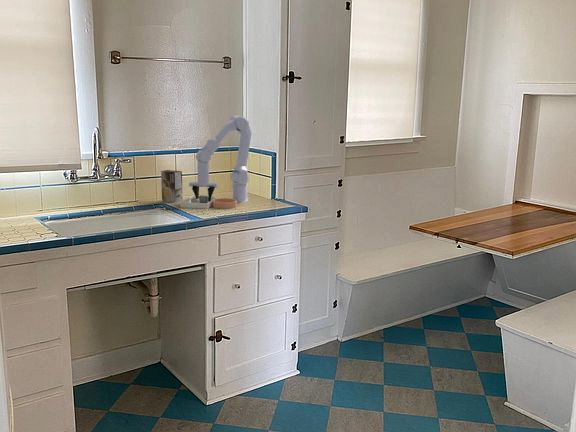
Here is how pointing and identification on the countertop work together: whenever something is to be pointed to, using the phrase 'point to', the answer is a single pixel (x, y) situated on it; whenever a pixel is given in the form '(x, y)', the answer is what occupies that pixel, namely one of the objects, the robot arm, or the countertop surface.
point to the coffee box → (171, 186)
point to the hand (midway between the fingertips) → (203, 201)
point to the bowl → (224, 203)
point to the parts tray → (188, 203)
